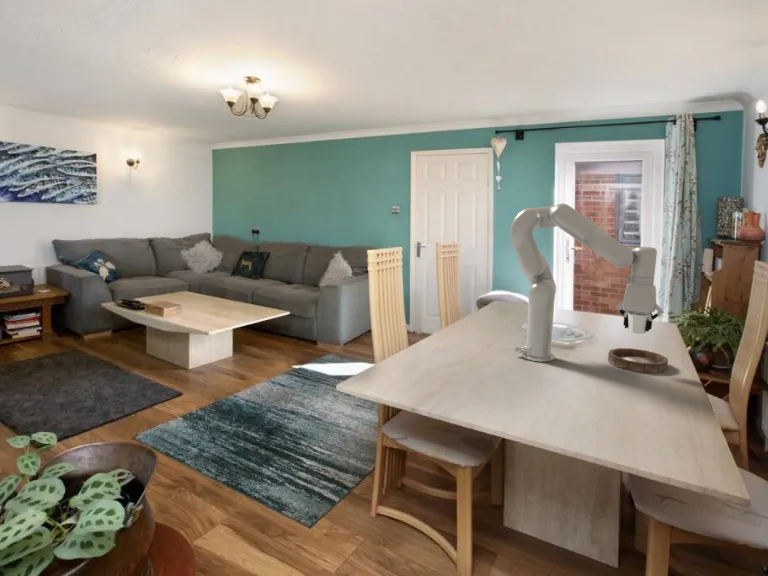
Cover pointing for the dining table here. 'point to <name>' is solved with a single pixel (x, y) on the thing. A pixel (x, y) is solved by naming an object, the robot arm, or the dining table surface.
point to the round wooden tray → (637, 360)
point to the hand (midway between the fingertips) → (637, 328)
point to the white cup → (637, 322)
